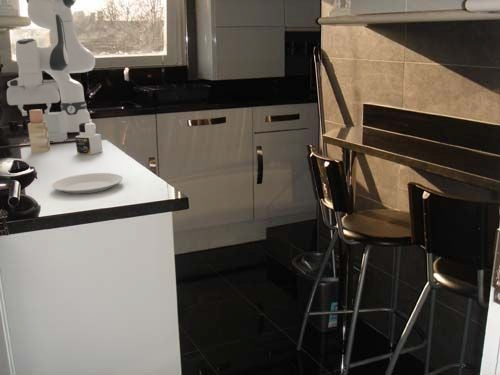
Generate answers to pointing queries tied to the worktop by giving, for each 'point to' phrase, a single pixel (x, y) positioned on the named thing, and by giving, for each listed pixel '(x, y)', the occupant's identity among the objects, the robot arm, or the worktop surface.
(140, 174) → the worktop surface
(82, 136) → the medicine bottle
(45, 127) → the tower top
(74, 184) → the plate
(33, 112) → the pink rounded cylinder
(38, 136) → the tower mid
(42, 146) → the tower base
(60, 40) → the robot arm
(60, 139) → the supplement box
